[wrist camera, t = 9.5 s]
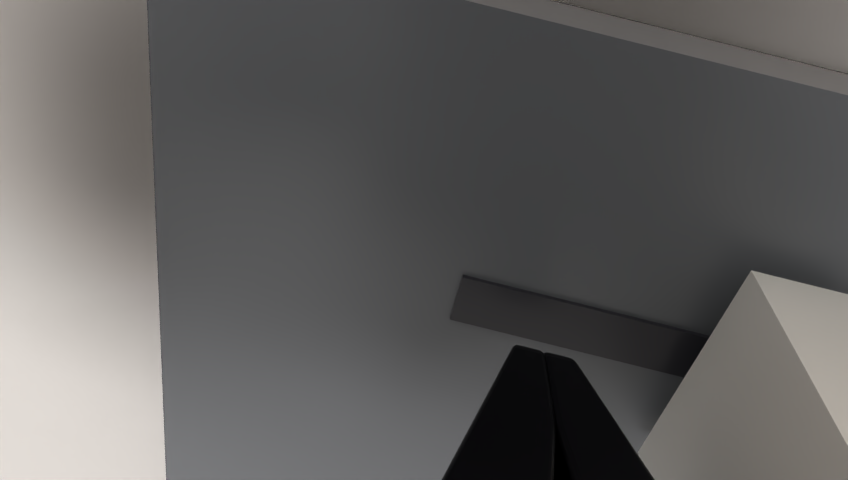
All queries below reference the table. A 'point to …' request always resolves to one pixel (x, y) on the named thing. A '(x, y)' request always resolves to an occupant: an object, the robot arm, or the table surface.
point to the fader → (762, 392)
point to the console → (458, 217)
